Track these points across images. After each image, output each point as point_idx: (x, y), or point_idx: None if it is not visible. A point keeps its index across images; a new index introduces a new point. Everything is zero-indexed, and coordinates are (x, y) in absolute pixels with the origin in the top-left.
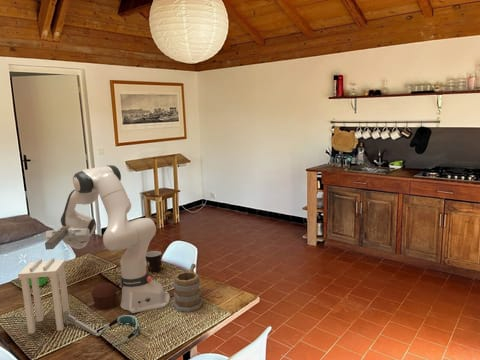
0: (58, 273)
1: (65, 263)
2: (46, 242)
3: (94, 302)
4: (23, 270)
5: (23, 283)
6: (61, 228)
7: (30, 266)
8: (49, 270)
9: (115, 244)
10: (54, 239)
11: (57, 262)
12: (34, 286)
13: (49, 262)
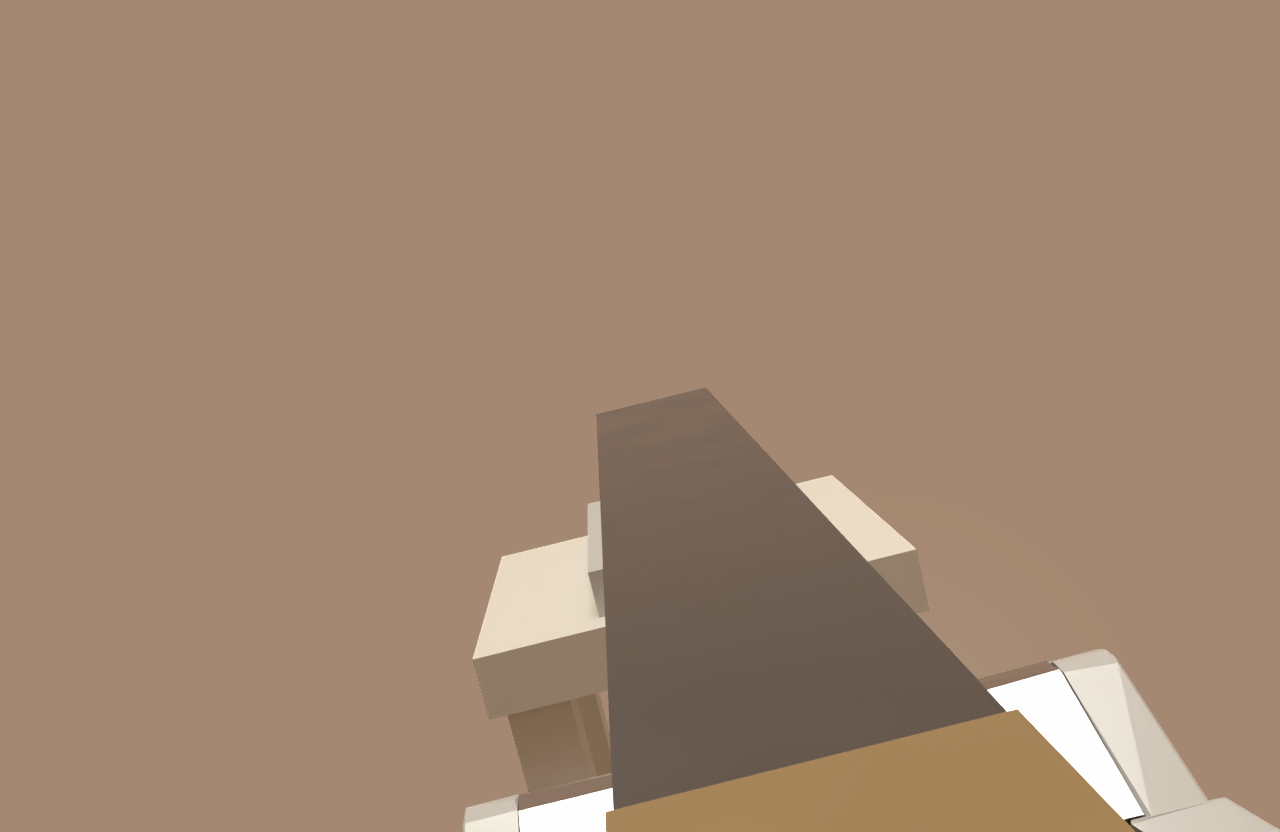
0: (590, 754)
1: (486, 708)
2: (691, 394)
3: None
4: (833, 495)
5: None
6: (892, 667)
7: None
8: (566, 547)
9: None
10: (612, 433)
11: (547, 613)
12: None
13: (592, 532)
